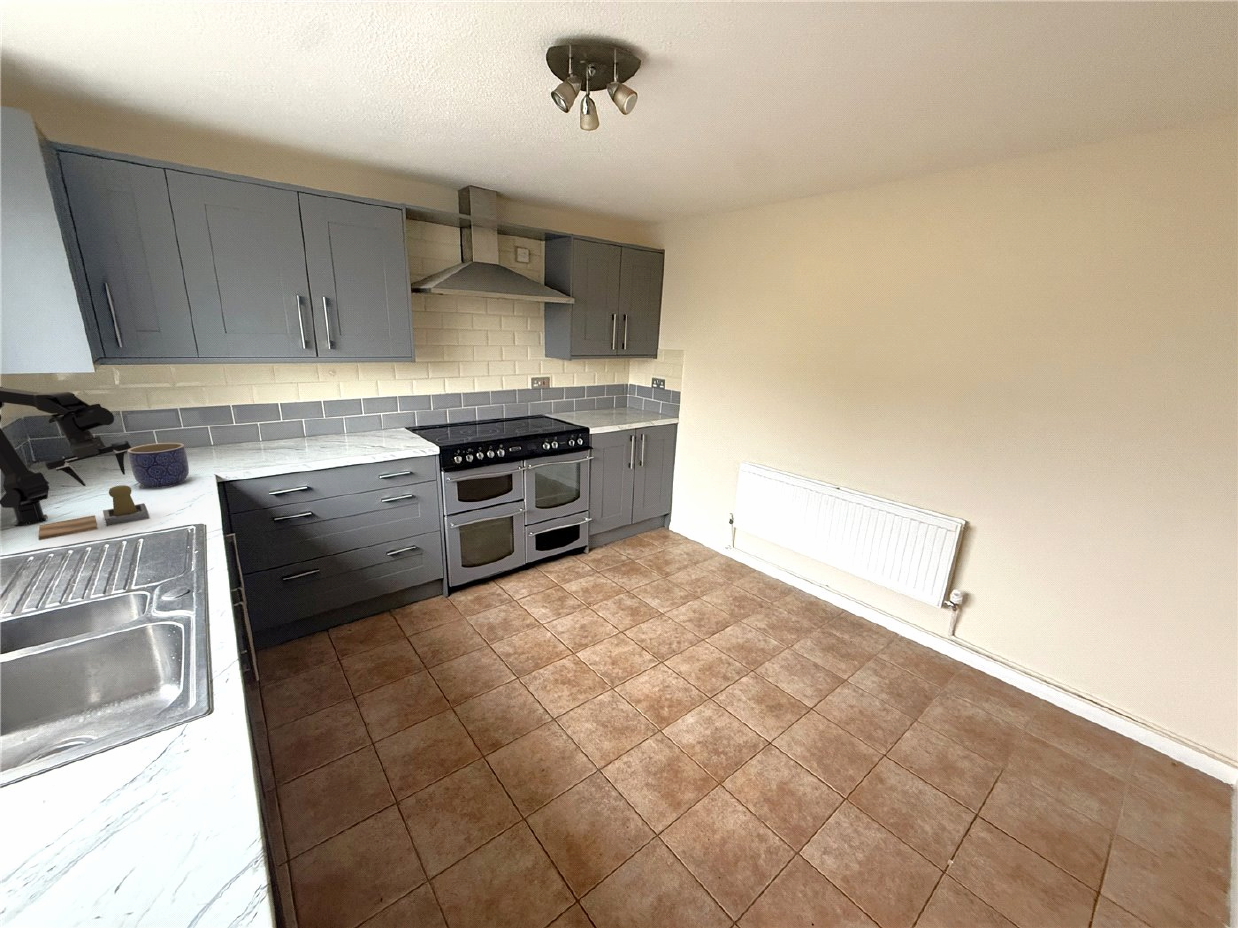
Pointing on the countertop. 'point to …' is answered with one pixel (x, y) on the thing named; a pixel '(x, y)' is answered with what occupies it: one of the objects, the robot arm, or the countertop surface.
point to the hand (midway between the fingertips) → (104, 480)
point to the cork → (122, 500)
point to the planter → (159, 464)
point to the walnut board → (67, 527)
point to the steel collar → (125, 516)
